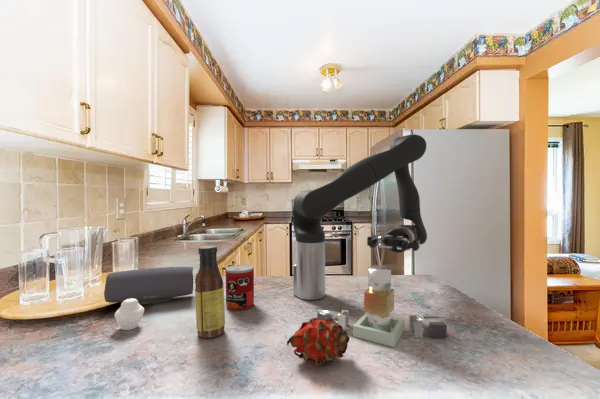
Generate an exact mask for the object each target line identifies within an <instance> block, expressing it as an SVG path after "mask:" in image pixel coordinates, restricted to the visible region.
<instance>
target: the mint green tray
mask: <svg viewBox="0 0 600 399" xmlns="http://www.w3.org/2000/svg"><path fill="white" fill-rule="evenodd" d="M352 326H353V327H352V332H353V334H352V336H354V338H357V339H362V340H366V341H370V342H373V343H376V344H380V345H385V346H387V347H388V346H389V347H392V348H395V347H396V346H397V344H398V342H399V340H400V338H401V336H402V335H403V333H404V331H405V319H401V318H396V317H394V316H393V317H392V316H391V333H390V332H386V331H382V330H378V329H374V328H369V327H368V313H366V312H364V314H363V315H362V316H361V317H360V318H359V319H358V320H357V321H356V322H355V323H354V324H353V325H352Z"/></svg>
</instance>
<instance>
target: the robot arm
mask: <svg viewBox="0 0 600 399" xmlns="http://www.w3.org/2000/svg"><path fill="white" fill-rule="evenodd" d="M426 151H427V141H426V140H425V138H424V137H423V136H421V135H420V134H413V133H412V134H407V135H402V136H397V137H396V138H394V139H393V140H392V142H391V143H390V146H389V149H387V150H385V151H384V150H383V151H381V152H378V153H375V154H373V155H369V156H367V157H364V158H362V159H360V160H359V161H357V162H355V163H354V164H352V165H350V166H349V167H347V168H346V169H345V170H343V171H342V173H340V174H339V176H338V177H337V178H336V179H334V180H333V181H329V183H326V184H325V185H322V186H320V187H318V188H314V189H308V190H307V189H306V190H301V191H299V192H298V193H297V194H296V195H295V197H294V200H293V202H292V203H293V204H292V214H293V216H292V217H293V218H292V220H293V230H294V235H295V264H293V266H292V270H293V271H292V272H293V273H292V276H293V277H292V278H293V279H292V283H293V285H292V286H293V290H292V291H293V292H292V294H293V296H296V297H297V298H298V299H301V300H306V301H307V300H309V301H313V300H314V301H315V300H319V299H323V298H325V296H326V234H325V231H324V230H323V228H322V226H321V225H322V224H321V219H322V218H324V217H325V216H326V215H328V214H329V213H331V211H332V210H334V209H335V208H336V207H338V206H339V205H340V204H342V203H343V202H345V201H346V200H349V199H351V198H353V197H355V196H357V195H358V194H360V193H362V192H363V191H366V190H367V189H369V188H370V187H372V186H374V185H376V184H377V183H379V182H380V181H381V180H383V179H384V178H387V177H388V176H390V175H391V174H393V173H394V176H395V180H396V185H397V192H398V201H399V202H398V204H399V215H400V218H402V219H404V220H408V221H410V222H413V224H401V225H398V226H397V227H396V228H391V229H390V230H389V231H388V232H387V233H386V235H379V236H378V235H376V234H375V235H370V236H367V239H366V241H367V242H366V245H367V246H368V247H369V248H371V249H373V248H376V247H378V248H379V249H380V248H382V249H385V248H387V249H388V250H389V251H391V252H393V253H396V254H401V253H405V252H406V251H410V250H411V249H412V250H413V251H415V252H417V251H418V250H419V249H420V246H421V245H423V244H425V243H426V242H427V240H428V239H427V238H428V235H427V230H426V227H425V225H424V222H423V218H422V214H421V200H420V194H419V191H418V189H417V186H416V184H415V183H414V180H413V178H412V176H411V173H410V167H409V164H411V163H414V162H416V161H419V160H420V159H421V158H422V157H423V156H424V155H425V153H426Z"/></svg>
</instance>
